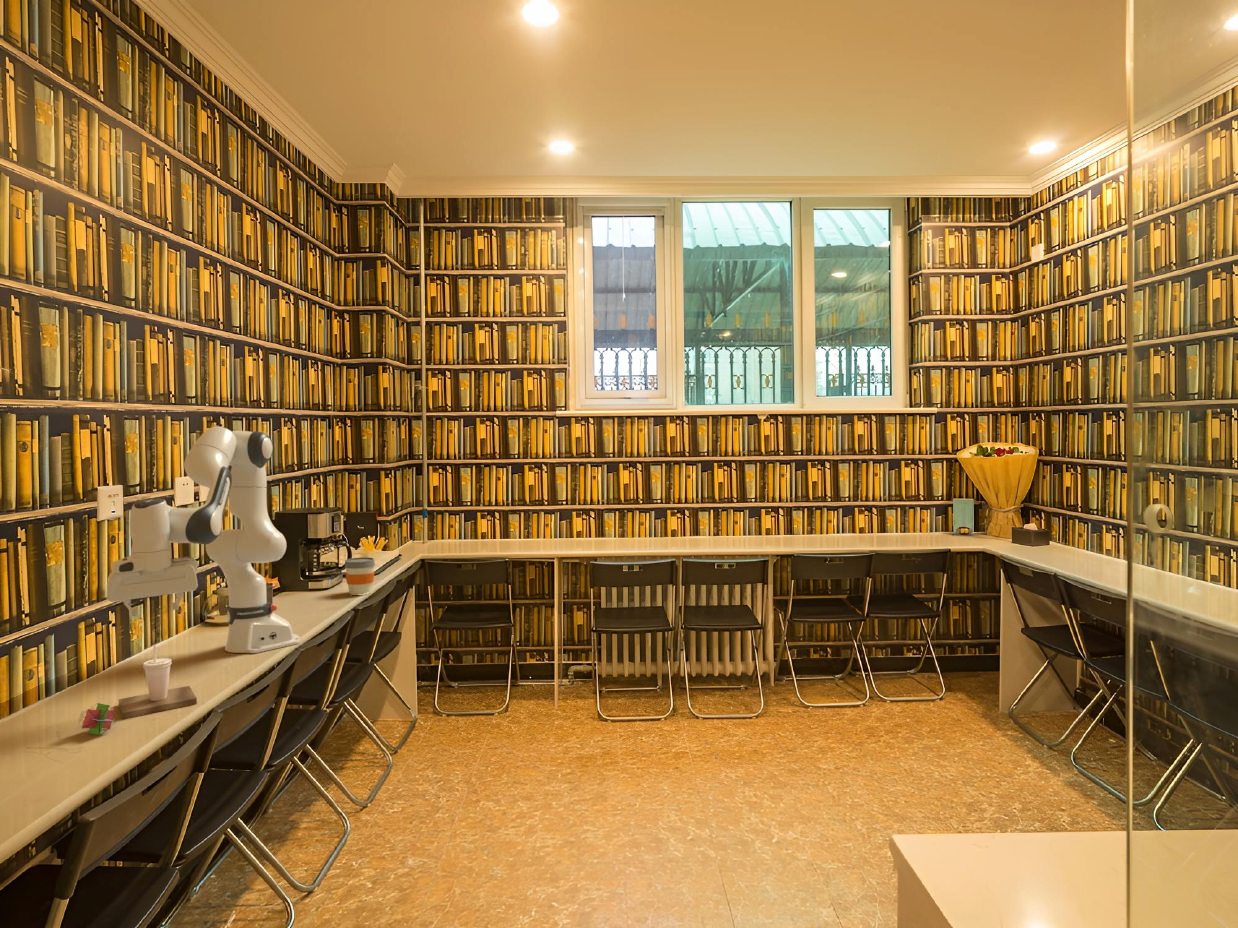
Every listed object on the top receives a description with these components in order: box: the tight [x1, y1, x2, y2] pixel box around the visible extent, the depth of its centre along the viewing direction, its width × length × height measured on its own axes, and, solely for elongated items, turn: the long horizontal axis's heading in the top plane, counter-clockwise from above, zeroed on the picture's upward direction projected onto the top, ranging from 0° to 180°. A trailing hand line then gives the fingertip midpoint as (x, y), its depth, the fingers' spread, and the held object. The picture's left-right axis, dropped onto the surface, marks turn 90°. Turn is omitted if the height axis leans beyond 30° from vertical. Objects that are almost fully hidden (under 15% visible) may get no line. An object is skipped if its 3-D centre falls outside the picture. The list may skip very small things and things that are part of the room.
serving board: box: [118, 685, 198, 720], centre depth 189 cm, size 16×12×2 cm
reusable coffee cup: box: [344, 556, 376, 596], centre depth 319 cm, size 13×12×15 cm
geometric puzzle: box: [77, 702, 118, 737], centre depth 172 cm, size 7×7×8 cm
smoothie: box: [142, 644, 173, 701], centre depth 189 cm, size 6×6×14 cm
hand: (154, 612), depth 192 cm, fingers open, 8 cm apart
